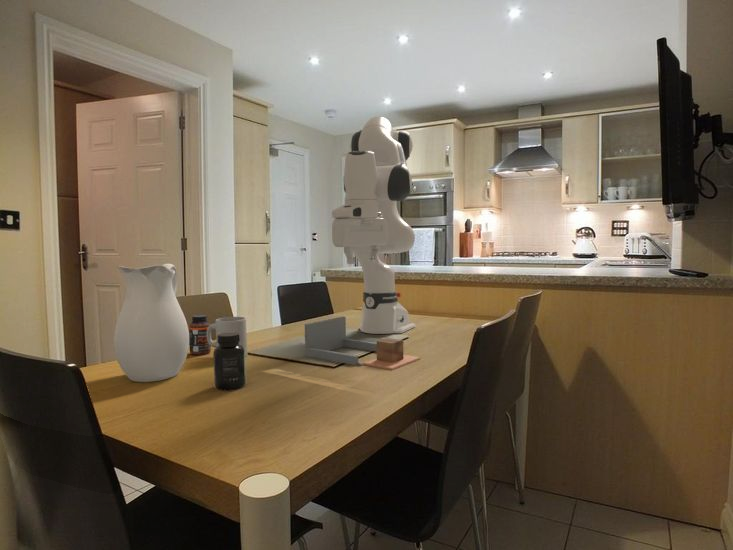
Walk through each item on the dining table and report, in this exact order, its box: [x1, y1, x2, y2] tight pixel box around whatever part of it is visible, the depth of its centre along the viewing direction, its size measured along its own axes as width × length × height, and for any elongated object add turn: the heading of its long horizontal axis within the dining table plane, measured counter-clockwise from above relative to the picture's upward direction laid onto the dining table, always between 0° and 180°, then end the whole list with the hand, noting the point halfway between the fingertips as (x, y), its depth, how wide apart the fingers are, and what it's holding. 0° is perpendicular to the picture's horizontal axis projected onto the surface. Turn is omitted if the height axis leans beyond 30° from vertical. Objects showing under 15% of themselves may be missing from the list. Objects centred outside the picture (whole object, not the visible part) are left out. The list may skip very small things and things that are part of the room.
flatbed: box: [304, 315, 377, 367], centre depth 132 cm, size 20×16×10 cm
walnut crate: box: [376, 337, 404, 363], centre depth 124 cm, size 5×5×5 cm
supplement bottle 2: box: [212, 333, 247, 391], centre depth 108 cm, size 7×7×12 cm
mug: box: [207, 316, 248, 358], centre depth 137 cm, size 12×8×11 cm
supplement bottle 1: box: [188, 314, 212, 356], centre depth 141 cm, size 6×6×11 cm
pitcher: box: [113, 263, 190, 383], centre depth 120 cm, size 24×17×28 cm
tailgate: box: [362, 354, 421, 371], centre depth 123 cm, size 1×13×9 cm
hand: (362, 262), depth 129 cm, fingers open, 8 cm apart
